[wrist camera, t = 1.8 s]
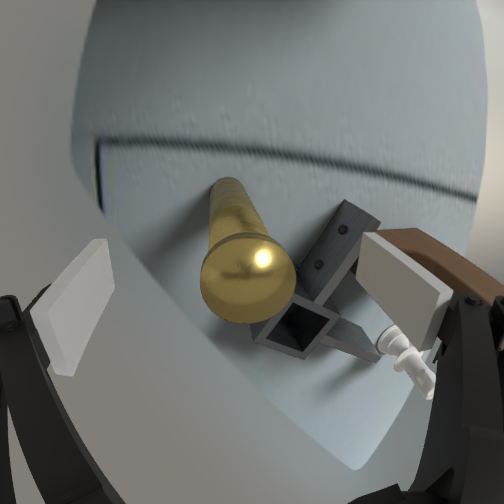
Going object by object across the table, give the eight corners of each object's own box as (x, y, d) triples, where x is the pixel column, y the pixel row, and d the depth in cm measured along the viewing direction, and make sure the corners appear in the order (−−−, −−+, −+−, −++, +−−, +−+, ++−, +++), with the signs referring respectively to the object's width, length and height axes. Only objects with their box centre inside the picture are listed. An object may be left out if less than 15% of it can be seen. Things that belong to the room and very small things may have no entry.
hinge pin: (206, 174, 26) (197, 240, 11) (248, 173, 27) (300, 237, 11) (207, 214, 28) (203, 325, 12) (248, 213, 28) (291, 320, 13)
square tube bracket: (326, 186, 28) (352, 200, 22) (415, 253, 32) (445, 276, 27) (246, 306, 32) (253, 341, 27) (344, 346, 37) (361, 377, 31)
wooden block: (347, 269, 32) (442, 384, 15) (351, 230, 30) (466, 333, 14) (411, 261, 33) (511, 350, 16) (417, 226, 31) (532, 304, 15)
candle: (371, 353, 38) (409, 415, 27) (385, 323, 36) (431, 384, 25) (399, 350, 39) (439, 406, 28) (413, 321, 37) (460, 376, 26)
